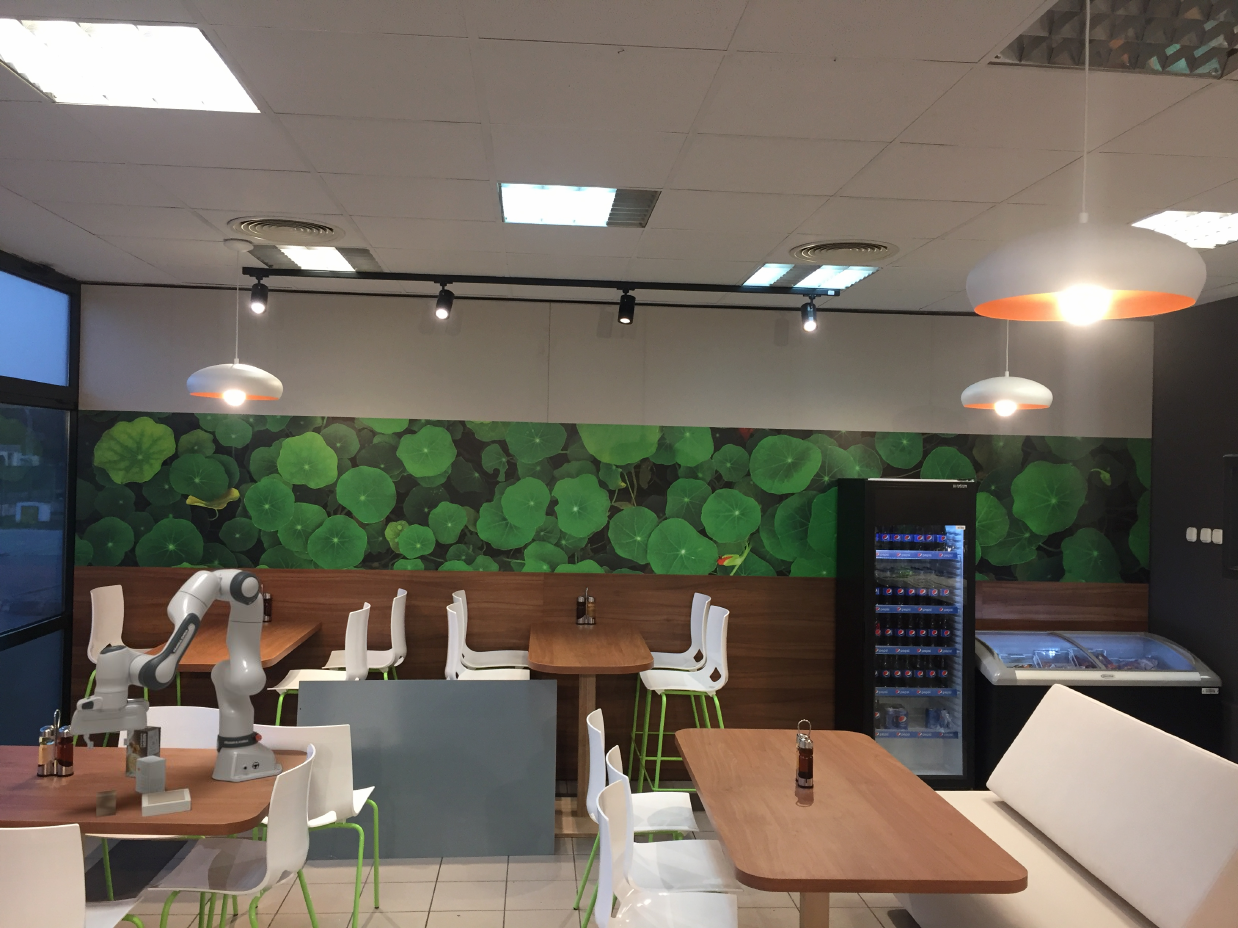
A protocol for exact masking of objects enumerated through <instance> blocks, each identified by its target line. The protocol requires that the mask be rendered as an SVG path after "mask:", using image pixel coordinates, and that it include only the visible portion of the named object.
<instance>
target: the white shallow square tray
mask: <svg viewBox="0 0 1238 928" xmlns="http://www.w3.org/2000/svg"><path fill="white" fill-rule="evenodd" d="M191 801H192V800H191V794H190V790H189V788H181V789H173V790H168V791H167V790H165V791H164V792H156V793H148V794H142V793H141V817H142V818H144V817H145V818H147V817H151V816H160V815H166V814H172V813H173V814H175V813H180V812H181V813H182V812H188V811H191V804H192V802H191Z"/></svg>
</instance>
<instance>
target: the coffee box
mask: <svg viewBox="0 0 1238 928" xmlns="http://www.w3.org/2000/svg"><path fill="white" fill-rule="evenodd" d="M128 736H129V730H127V731H126V738H127V737H128ZM161 736H162V727H161V726H154V725H153V726H152V725H147V726H146V727H145V728H144V729H138V730H134V734H133V735H132V737H131V738H130V739H129V745H126V751H125V753H126V755H125V777H126V778H127V777H128V778H129V777H130V778H136V762H137V759H139V758H144V757H148V756H157V757H160V758H161V740H162V738H161Z"/></svg>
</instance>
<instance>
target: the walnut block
mask: <svg viewBox="0 0 1238 928" xmlns="http://www.w3.org/2000/svg"><path fill="white" fill-rule="evenodd" d="M116 806H117V789H114V790H113V789H112V790H106V791H104V790H103V791H98V792H97V794H96V810H95V811H96V812H95V818H100V817H101V818H102V817H108V816H115V815H116V811H117V809H116V808H117V807H116Z"/></svg>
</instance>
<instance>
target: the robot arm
mask: <svg viewBox="0 0 1238 928" xmlns="http://www.w3.org/2000/svg"><path fill="white" fill-rule="evenodd" d="M260 590H261V583H260V580H259V577H258V576H257V575H256V574H255V573H254V572H251V571H248V570H242V569H235V568H230V569H227V568H225V569H223V568H216V569H212V570H210V571H208V570H199V571H196V572H195V573H194V574H193V575H192V576H191V577H190V578H188V579H187V581H185V582H184V583H183V584H182V586H180V589H178V590H177V592H176V593H175V595H173V597H172V599H171V600H170V602H169V604H168V606H167V610H166V612H167V616H168V618H169V620H170V621H171V622H172V624H174V630H173V632H172V634H171V636H170V637H169V638H168V641H167V642H166V644H165V646H164V647H163V648H162V650H161V652H159V653H157V654H155V655H153V654H152V655H151V654H148V653H143V652H139V651H137V650H133V649H130V648H129V647H128V646H127V645H125V644H124V645H123V644H118V645H111V646H108V647H105V648H103V649H102V650H101V651H100V652H99V654H98V656H97V660H96V665H95V666H96V667H95V678H94V679H95V681H96V685H95V688H94V693H93V694H92V695H91V696H86V697H85V698H82V699H79V700H78V701H77V703H76V710H75V711H74V713H73V716H72V718H71V724H70V730H69V733H70V735H72V736H80V735H83V739H84V741H85V742H86V744H87V746H86V747H87V750H91V749H94V741H91V740H90V735H91V734H92V735H93V734H101V733H113V732H127V730H129V736H128V737H127V736H126V738H123V746H127V745H129V739H130V738H131V737H132V735H133V734H134V730H138V729H144V728H145V727H146V726H148V715H147V714H148V711H149V710H150V702H149V700H148V699H145V698H144V697H139V698H128V697H129V696H128V695H129V686H130V685H135V686H137V687H142V688H145V689H148V690H150V691H151V690H152V691H159V690H163V689H165V688H166V687H168V686H169V685H170V684H171V683H172V682H173V680H174V679H175V676H176V674H177V670H178V667H179V665H180V663H181V661H182V659H183V657H184V656H185V654H186V652H187V650H188V649H189V647H190V646H191V644H192V642H193V640H194V638H196V635H197V633H198V631H199V629H200V626H201V621H202V619H203V617H204V615H205V614H206V612H207V611H209V608H210V607H211V605H212V603H213V602H214V601H215V600H219V601H223V602H228V603H229V605H230V613H229V617H228V624H227V630H226V638H225V644H226V645H225V646H226V647H227V650H228V657H229V659H224V660H220V661H219V662H217V663H216V664H215V665H214V667H212V669H211V674H210V679H211V681H212V683H213V685H214V688H215V692H216V699H217V704H218V712H219V717H218V718H219V719H218V721H219V723H218V734H217V739H216V751H217V754H216V761H215V765H214V769H213V772H212V775H211V778H213V779H214V780H217V781H227V782H232V783H239V782H244V781H250V780H255V779H261V778H266V777H272V776H278V775H280V774H281V773H282V772H283V766H282V765H281V764H280V763H278V762H277V759H276V755H275V753H274V751H273V750H272V749H271V748H269V747H267V746H265V744H262V743H261V742H260V741H262V739H263V735H261V734H260V733H259V732H258V731H255V730H254V722H255V719H254V717H255V708H254V706H253V704H252V702H251V698H250V696H254V695H257V694H258V693H260V692H261V691H262V690H263V689H264V688H265V685H266V683H267V682H266V681H267V676H266V673H265V671H264V669H263V663H262V655H261V638H262V637H261V636H262V629H263V623H264V622H263V621H264V620H263V619H264V597H263V595H262V594H261V591H260Z"/></svg>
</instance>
